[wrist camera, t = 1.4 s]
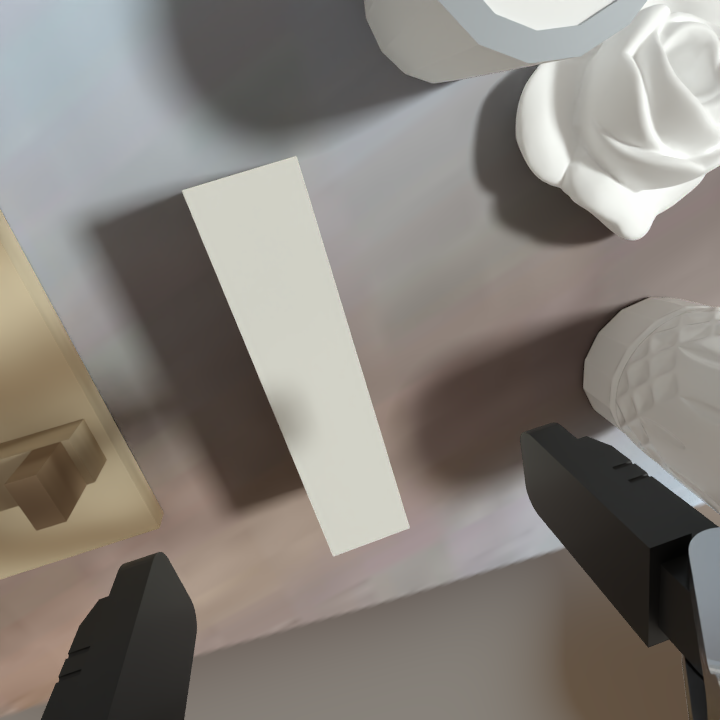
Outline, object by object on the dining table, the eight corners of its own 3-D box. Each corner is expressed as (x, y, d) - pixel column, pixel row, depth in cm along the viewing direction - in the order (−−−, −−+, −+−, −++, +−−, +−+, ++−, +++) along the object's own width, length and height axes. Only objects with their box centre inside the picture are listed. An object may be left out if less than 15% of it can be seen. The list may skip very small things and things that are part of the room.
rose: (574, 287, 16) (556, -53, 12) (512, 264, 20) (483, 1, 16) (817, 210, 17) (874, -131, 13) (712, 203, 21) (731, -61, 17)
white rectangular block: (202, 185, 17) (181, 190, 12) (286, 159, 17) (296, 155, 13) (318, 479, 23) (333, 556, 18) (380, 457, 23) (409, 528, 18)
